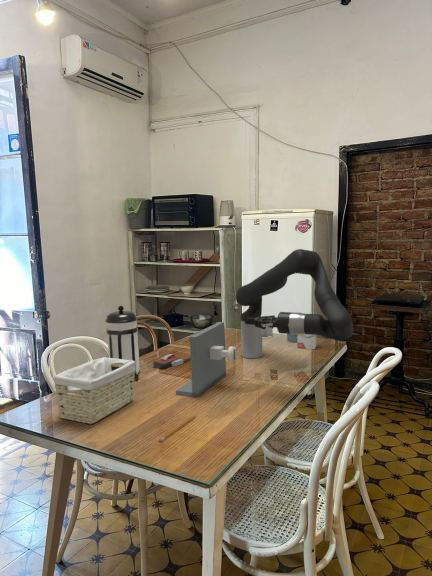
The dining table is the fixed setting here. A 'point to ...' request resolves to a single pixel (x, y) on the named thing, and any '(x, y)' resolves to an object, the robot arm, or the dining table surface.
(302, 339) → the ink cartridge box
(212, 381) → the knob panel
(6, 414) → the dining table surface
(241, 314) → the robot arm
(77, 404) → the storage basket
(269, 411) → the dining table surface
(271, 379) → the dining table surface
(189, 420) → the pencil
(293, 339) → the grey-green cup
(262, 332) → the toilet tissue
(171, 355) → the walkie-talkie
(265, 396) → the dining table surface
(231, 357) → the knob
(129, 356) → the coffee press
